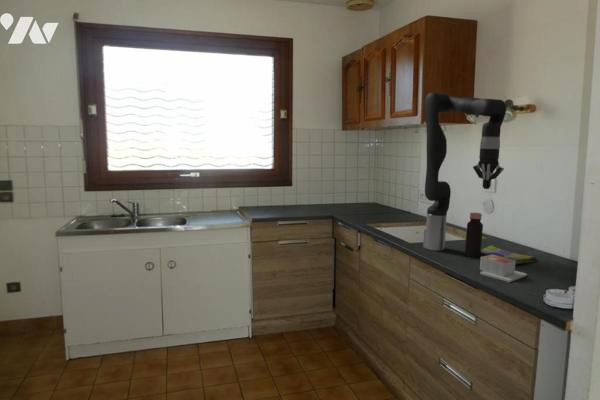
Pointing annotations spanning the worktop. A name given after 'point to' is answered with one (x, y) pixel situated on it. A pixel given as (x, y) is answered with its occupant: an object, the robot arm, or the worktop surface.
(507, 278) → the mat
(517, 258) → the dish towel
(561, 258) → the worktop surface
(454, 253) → the worktop surface
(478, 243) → the bottle
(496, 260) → the small box
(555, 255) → the worktop surface
